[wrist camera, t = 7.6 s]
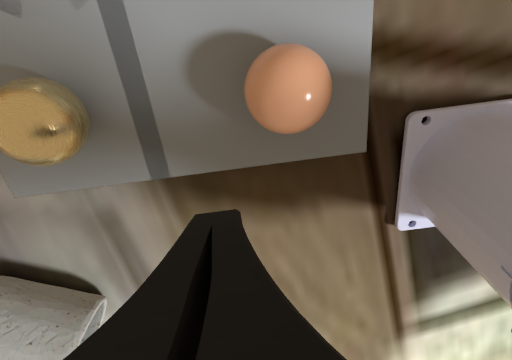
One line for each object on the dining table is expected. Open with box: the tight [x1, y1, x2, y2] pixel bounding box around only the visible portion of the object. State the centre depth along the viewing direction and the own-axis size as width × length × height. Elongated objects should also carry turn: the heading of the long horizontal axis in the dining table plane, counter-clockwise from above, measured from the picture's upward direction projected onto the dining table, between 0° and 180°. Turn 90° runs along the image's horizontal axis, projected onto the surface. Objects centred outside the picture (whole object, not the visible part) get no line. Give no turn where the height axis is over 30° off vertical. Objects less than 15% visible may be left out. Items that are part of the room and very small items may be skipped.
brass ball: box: [0, 77, 90, 166], centre depth 13 cm, size 4×4×4 cm
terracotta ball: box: [244, 43, 332, 134], centre depth 13 cm, size 4×4×4 cm
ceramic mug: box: [0, 276, 107, 360], centre depth 20 cm, size 11×8×8 cm
